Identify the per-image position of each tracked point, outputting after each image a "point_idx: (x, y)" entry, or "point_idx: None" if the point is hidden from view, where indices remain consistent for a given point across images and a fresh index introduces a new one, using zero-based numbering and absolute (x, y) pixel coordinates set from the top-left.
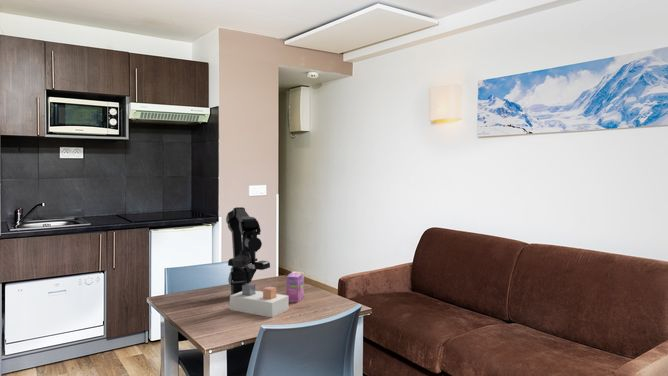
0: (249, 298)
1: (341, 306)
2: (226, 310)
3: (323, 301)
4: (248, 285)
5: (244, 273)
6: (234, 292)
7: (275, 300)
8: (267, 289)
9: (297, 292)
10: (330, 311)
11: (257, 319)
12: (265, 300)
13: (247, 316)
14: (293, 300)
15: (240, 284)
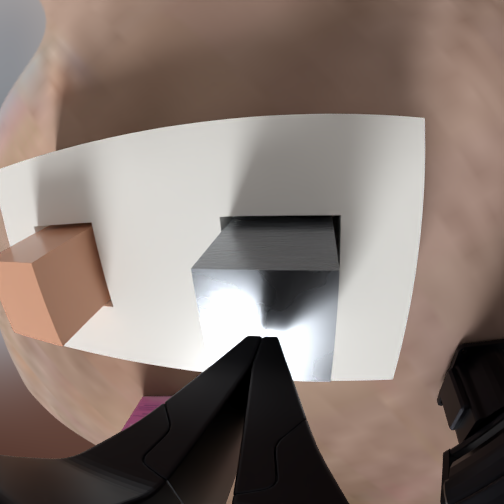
0: (158, 144)
1: (33, 381)
2: (396, 93)
3: (96, 417)
4: (247, 306)
5: (295, 465)
6: (501, 363)
7: (10, 223)
8: (4, 260)
9: (122, 429)
10: (10, 331)
11: (87, 78)
12: (37, 184)
13: (164, 72)
14: (155, 401)
15: (485, 420)
